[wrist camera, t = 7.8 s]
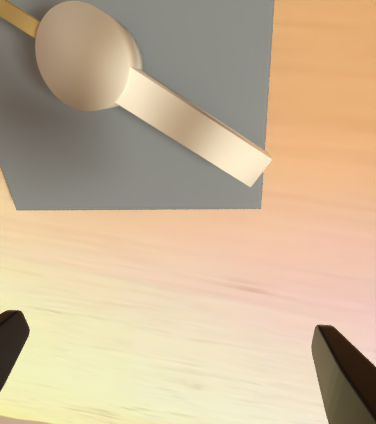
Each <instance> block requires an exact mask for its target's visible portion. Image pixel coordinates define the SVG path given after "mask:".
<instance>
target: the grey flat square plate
mask: <svg viewBox="0 0 376 424" xmlns="http://www.w3.org/2000/svg"><path fill="white" fill-rule="evenodd" d="M8 1H9V2H11V3H13V4H14V5H16V6H17V7H19V8H20V9H22V10H23V11H25V12H26V13H28V14H30V15H31V16H33V17H34V18H36V19H37V20H39V21H40V22H41V20H42V19H43V17H44V16H45V14H46V13H47V12H48V11H49V10H50V9H51V8H53V7H54V6H56V5H58V4H60V3H62V2H66V1H81V2H85V3H88V4H91V5H93V6H95V7H96V8H98V9H100V10H101V11H103V12H104V13H106V14H107V15H109V16H110V17H112V18H113V19H115V20H116V21H118V22H120V23H121V24H122V25H124V26H125V27H126V28H127V29H128V30H129V31H130V32H131V33H132V34H133V36H134V37H135V39H136V40H137V42H138V44H139V46H140V49H141V52H142V56H143V61H144V71H145V72H146V73H148V74H149V75H151V76H152V77H154V78H155V79H157V80H158V81H160V82H161V83H163V84H165V85H166V86H168V87H169V88H171V89H172V90H174V91H175V92H177V93H178V94H180V95H181V96H183V97H184V98H186V99H187V100H189V101H190V102H192V103H194V104H195V105H197V106H198V107H200V108H201V109H203V110H204V111H206V112H207V113H209V114H210V115H212V116H213V117H215V118H216V119H218V120H219V121H221V122H223V123H224V124H226V125H227V126H229V127H230V128H232V129H233V130H235V131H236V132H238V133H239V134H241V135H242V136H244V137H245V138H247V139H249V140H250V141H252V142H253V143H255V144H256V145H258V146H259V147H261V148H262V149H264V150H265V139H266V123H267V108H268V92H269V77H270V61H271V46H272V31H273V15H274V0H8ZM35 40H36V39H35V38H34V37H32V36H31V35H29V34H27V33H26V32H24V31H23V30H21V29H20V28H18V27H16V26H15V25H13V24H12V23H10V22H8V21H7V20H5V19H4V18H2V17H1V16H0V166H1V169H2V172H3V175H4V177H5V180H6V183H7V185H8V188H9V191H10V194H11V196H12V199H13V202H14V204H15V207H16V210H156V209H261V200H262V185H263V172H262V173H261V175H260V176H259V177H258V179H257V180H256V181H255V183H254V184H253V185H252V186H251V187H249V186H247V185H246V184H244V183H243V182H241V181H239V180H238V179H236V178H235V177H233V176H231V175H230V174H228V173H227V172H225V171H223V170H222V169H220V168H219V167H217V166H216V165H214V164H212V163H211V162H209V161H208V160H206V159H204V158H203V157H201V156H200V155H198V154H196V153H195V152H193V151H192V150H190V149H188V148H187V147H185V146H184V145H182V144H180V143H179V142H177V141H176V140H174V139H172V138H171V137H169V136H168V135H166V134H164V133H163V132H161V131H160V130H158V129H156V128H155V127H153V126H152V125H150V124H148V123H147V122H145V121H144V120H142V119H140V118H139V117H137V116H136V115H134V114H133V113H131V112H129V111H128V110H126V109H125V108H123V107H121V106H119V107H114V108H108V109H102V110H97V111H82V110H78V109H75V108H72V107H70V106H68V105H66V104H65V103H64V102H62V101H61V100H60V99H58V98H57V97H56V96H55V95H54V94H53V93H52V91H51V90H50V89H49V87H48V86H47V84H46V83H45V81H44V79H43V77H42V75H41V73H40V70H39V68H38V64H37V60H36V53H35Z"/></svg>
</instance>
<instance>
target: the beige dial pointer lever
mask: <svg viewBox="0 0 376 424" xmlns="http://www.w3.org/2000/svg"><path fill="white" fill-rule="evenodd" d="M0 16H1V17H2V18H4V19H5V20H7V21H8V22H10V23H12V24H13V25H15V26H16V27H18V28H20V29H21V30H23V31H24V32H26V33H27V34H29V35H31V36H32V37H34V38H35V39H36V40H35V53H36V60H37V64H38V68H39V70H40V73H41V75H42V77H43V79H44V81H45V83H46V84H47V86H48V87H49V89H50V90H51V91H52V93H53V94H54V95H55V96H56V97H57V98H58V99H60V100H61V101H62V102H64V103H65V104H66V105H68V106H70V107H72V108H75V109H78V110H82V111H97V110H102V109H108V108H114V107H119V106H121V107H123V108H125V109H126V110H128V111H129V112H131V113H133V114H134V115H136V116H137V117H139V118H140V119H142V120H144V121H145V122H147V123H148V124H150V125H152V126H153V127H155V128H156V129H158V130H160V131H161V132H163V133H164V134H166V135H168V136H169V137H171V138H172V139H174V140H176V141H177V142H179V143H180V144H182V145H184V146H185V147H187V148H188V149H190V150H192V151H193V152H195V153H196V154H198V155H200V156H201V157H203V158H204V159H206V160H208V161H209V162H211V163H212V164H214V165H216V166H217V167H219V168H220V169H222V170H223V171H225V172H227V173H228V174H230V175H231V176H233V177H235V178H236V179H238V180H239V181H241V182H243V183H244V184H246V185H247V186H249V187H251V186H252V185H253V184H254V183H255V181H256V180H257V179H258V177H259V176H260V175H261V173H262V172H263V171H264V170H265V168H266V167H267V166H268V164H269V163H270V162H271V160H272V158H271V157H270V156H269V154H268V153H267V152H266V151H265V150H264V149H262V148H261V147H259V146H258V145H256V144H255V143H253V142H252V141H250V140H249V139H247V138H245V137H244V136H242V135H241V134H239V133H238V132H236V131H235V130H233V129H232V128H230V127H229V126H227V125H226V124H224V123H223V122H221V121H219V120H218V119H216V118H215V117H213V116H212V115H210V114H209V113H207V112H206V111H204V110H203V109H201V108H200V107H198V106H197V105H195V104H194V103H192V102H190V101H189V100H187V99H186V98H184V97H183V96H181V95H180V94H178V93H177V92H175V91H174V90H172V89H171V88H169V87H168V86H166V85H165V84H163V83H161V82H160V81H158V80H157V79H155V78H154V77H152V76H151V75H149V74H148V73H146V72H145V71H144V61H143V56H142V52H141V49H140V46H139V44H138V42H137V40H136V39H135V37H134V36H133V34H132V33H131V32H130V31H129V30H128V29H127V28H126V27H125V26H124V25H122V24H121V23H120V22H118V21H116V20H115V19H113V18H112V17H110V16H109V15H107V14H106V13H104V12H103V11H101V10H100V9H98V8H96V7H95V6H93V5H91V4H88V3H85V2H81V1H66V2H62V3H60V4H58V5H56V6H54V7H53V8H51V9H50V10H49V11H48V12H47V13H46V14H45V16H44V17H43V19H42V20H41V22H40V21H39V20H37V19H36V18H34V17H33V16H31V15H30V14H28V13H26V12H25V11H23V10H22V9H20V8H19V7H17V6H16V5H14V4H13V3H11V2H9V1H8V0H0Z"/></svg>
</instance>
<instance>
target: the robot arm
mask: <svg viewBox="0 0 376 424" xmlns="http://www.w3.org/2000/svg"><path fill="white" fill-rule="evenodd" d="M29 331H30V330H29V326H28V324H27V322H26V319H25V317H24V315H23V313H22V312H21V311H19V310H7V311H5V312H3V313H1V314H0V391H1V390H2V388H3V386H4V384H5V382H6V380H7V378H8V376H9V374H10V372H11V370H12V368H13V366H14V364H15V362H16V360H17V358H18V356H19V354H20V352H21V350H22V348H23V346H24V344H25V342H26V340H27V338H28V336H29ZM311 348H312V355H313V360H314V364H315V368H316V373H317V377H318V381H319V386H320V390H321V395H322V399H323V403H324V408H325V412H326V416H327V419H328V422H329V424H376V367H375V366H374V365H373V364H372V363H371V362H370V361H369V360H368V359H367V358H366V357H365V356H364V355H363V354H362V353H361V352H360V351H359V350H358V349H357V348H356V347H354V346H353V345H352V344H351V343H350V342H349V341H348V340H347V339H346V338H345V337H344V336H343V335H342V334H341V333H340V332H339V331H338V330H337V329H336V328H334V327H333V326H331V325H317V326H316V327H315V330H314V335H313V340H312V347H311Z"/></svg>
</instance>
